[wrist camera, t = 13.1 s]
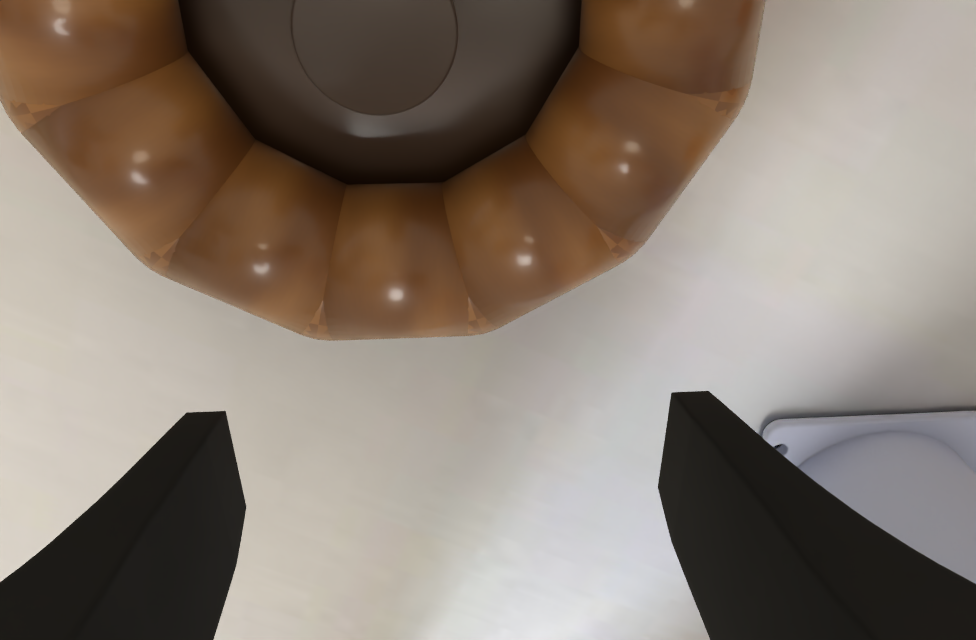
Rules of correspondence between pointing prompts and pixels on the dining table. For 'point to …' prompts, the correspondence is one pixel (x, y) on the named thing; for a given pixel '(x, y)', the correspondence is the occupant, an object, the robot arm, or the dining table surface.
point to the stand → (384, 77)
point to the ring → (376, 207)
